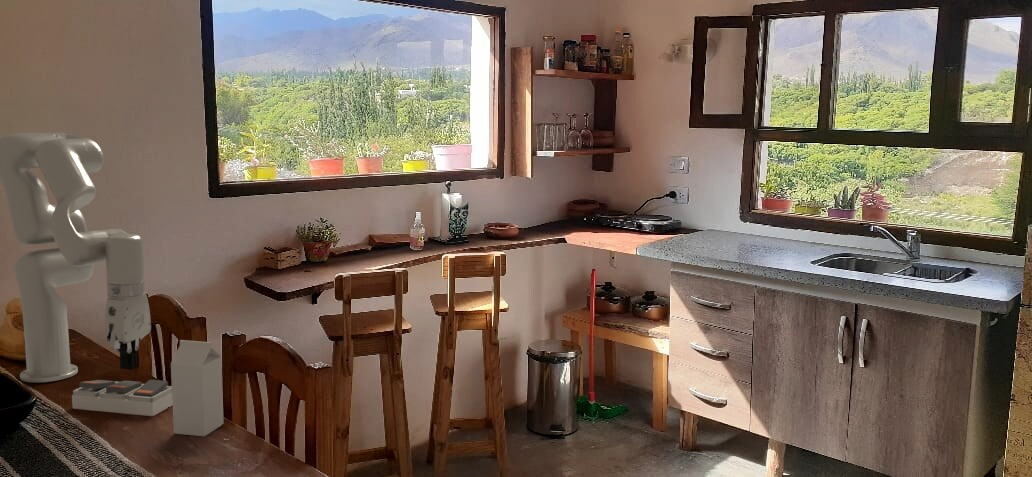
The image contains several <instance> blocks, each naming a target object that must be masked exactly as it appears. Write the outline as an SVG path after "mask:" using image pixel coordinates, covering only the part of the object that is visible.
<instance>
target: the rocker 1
mask: <svg viewBox="0 0 1032 477" xmlns="http://www.w3.org/2000/svg"><path fill="white" fill-rule="evenodd" d="M115 381H116V380H115ZM115 381H114V380H104V379H96V380H88V381H87V380H86V381H80V382H79V385H78V388H80V387H83V388H94V389H98V388H104V387H107V386H110V385H113V384H115Z"/></svg>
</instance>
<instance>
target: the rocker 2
mask: <svg viewBox="0 0 1032 477" xmlns="http://www.w3.org/2000/svg"><path fill="white" fill-rule="evenodd" d="M117 382H118V383H116V384H113V385H110V386H107V387H106V391H108V392H119V393H125V392H128V391H130V390H133V389H136V388H138V387H140V386H141V384H142V381H134V380H122V381H117Z"/></svg>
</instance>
